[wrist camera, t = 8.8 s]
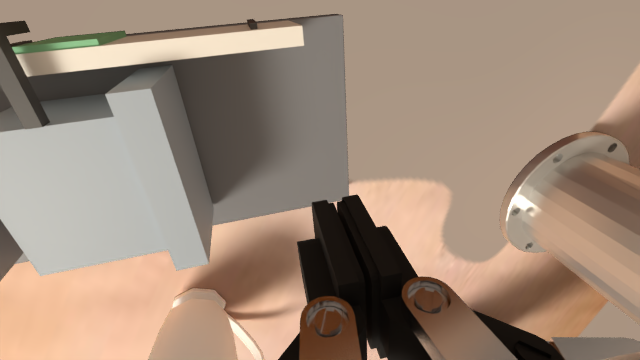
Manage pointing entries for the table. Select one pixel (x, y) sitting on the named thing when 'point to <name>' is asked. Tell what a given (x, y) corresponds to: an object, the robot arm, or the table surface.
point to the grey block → (100, 171)
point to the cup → (200, 330)
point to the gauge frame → (224, 105)
